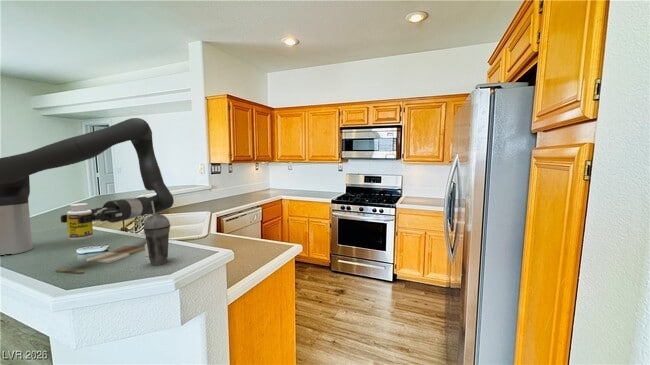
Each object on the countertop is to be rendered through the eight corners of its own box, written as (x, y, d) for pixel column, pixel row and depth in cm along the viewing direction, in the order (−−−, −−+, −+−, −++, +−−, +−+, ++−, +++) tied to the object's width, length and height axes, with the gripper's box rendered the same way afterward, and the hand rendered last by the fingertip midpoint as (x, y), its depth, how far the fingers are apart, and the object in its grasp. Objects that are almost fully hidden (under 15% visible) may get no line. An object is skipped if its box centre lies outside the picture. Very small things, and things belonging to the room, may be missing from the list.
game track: (55, 271, 77) (55, 269, 77) (125, 247, 100) (125, 245, 100) (81, 273, 76) (81, 271, 76) (146, 248, 98) (146, 247, 98)
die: (145, 256, 90) (144, 243, 90) (150, 252, 94) (150, 240, 94) (158, 255, 91) (157, 243, 90) (163, 251, 95) (162, 239, 94)
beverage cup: (177, 260, 86) (174, 199, 85) (156, 268, 80) (153, 202, 78) (160, 257, 89) (157, 198, 87) (139, 265, 82) (135, 201, 80)
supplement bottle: (65, 241, 76) (63, 206, 76) (70, 236, 81) (68, 203, 80) (91, 238, 80) (89, 204, 79) (94, 234, 84) (92, 202, 83)
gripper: (105, 198, 95) (49, 206, 78) (140, 199, 92) (90, 208, 76) (106, 219, 95) (51, 231, 79) (141, 221, 93) (91, 233, 76)
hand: (70, 219), depth 77 cm, fingers closed on supplement bottle, 5 cm apart
